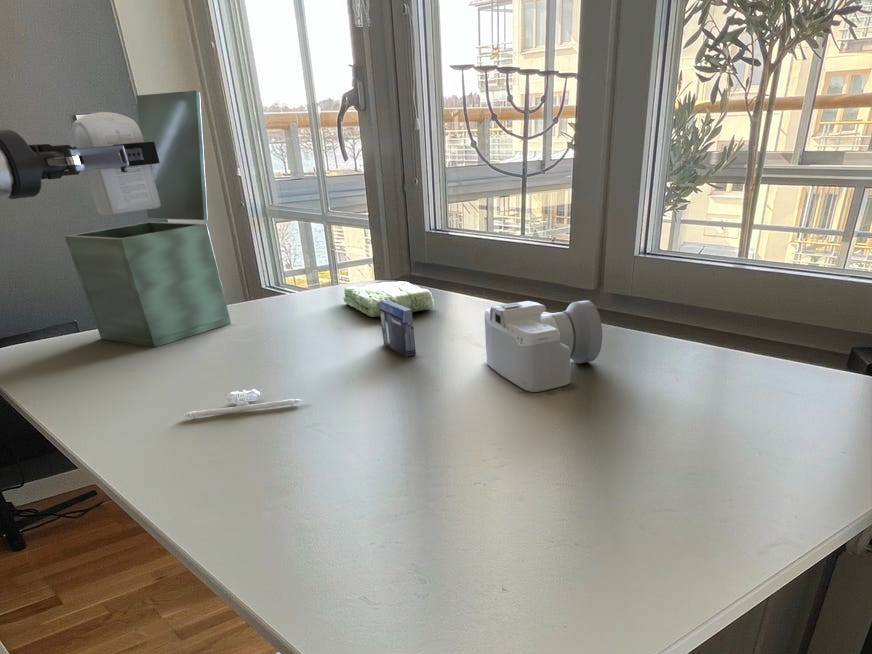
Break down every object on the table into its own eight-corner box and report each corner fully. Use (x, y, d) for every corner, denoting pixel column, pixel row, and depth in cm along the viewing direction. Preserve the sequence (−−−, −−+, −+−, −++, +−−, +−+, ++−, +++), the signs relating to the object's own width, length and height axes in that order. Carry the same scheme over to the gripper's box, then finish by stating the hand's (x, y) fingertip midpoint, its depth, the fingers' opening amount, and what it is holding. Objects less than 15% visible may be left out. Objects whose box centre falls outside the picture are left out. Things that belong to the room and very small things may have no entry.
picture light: (184, 419, 83) (178, 402, 81) (187, 408, 86) (181, 390, 85) (302, 404, 85) (299, 387, 84) (301, 393, 88) (297, 377, 87)
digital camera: (612, 411, 89) (628, 335, 81) (505, 420, 87) (511, 342, 79) (575, 347, 99) (586, 274, 92) (478, 353, 97) (482, 279, 89)
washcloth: (406, 293, 134) (404, 274, 132) (439, 310, 121) (437, 290, 119) (340, 302, 130) (337, 283, 128) (367, 321, 117) (364, 301, 115)
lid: (195, 90, 104) (199, 91, 105) (135, 95, 110) (140, 96, 111) (203, 220, 111) (207, 220, 112) (147, 217, 117) (151, 218, 118)
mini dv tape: (383, 344, 105) (378, 301, 102) (392, 342, 106) (388, 299, 102) (406, 356, 100) (401, 311, 96) (415, 354, 100) (411, 309, 97)
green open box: (155, 347, 110) (120, 239, 101) (100, 338, 116) (64, 236, 107) (231, 323, 121) (206, 223, 112) (178, 316, 127) (150, 221, 118)
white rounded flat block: (147, 207, 112) (120, 111, 104) (166, 208, 110) (140, 110, 103) (94, 216, 105) (60, 114, 97) (113, 217, 103) (80, 113, 96)
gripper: (-26, 199, 97) (118, 182, 113) (46, 200, 90) (189, 181, 105) (-54, 133, 93) (100, 124, 108) (20, 128, 85) (174, 120, 101)
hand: (144, 152), depth 107 cm, fingers closed on white rounded flat block, 4 cm apart
